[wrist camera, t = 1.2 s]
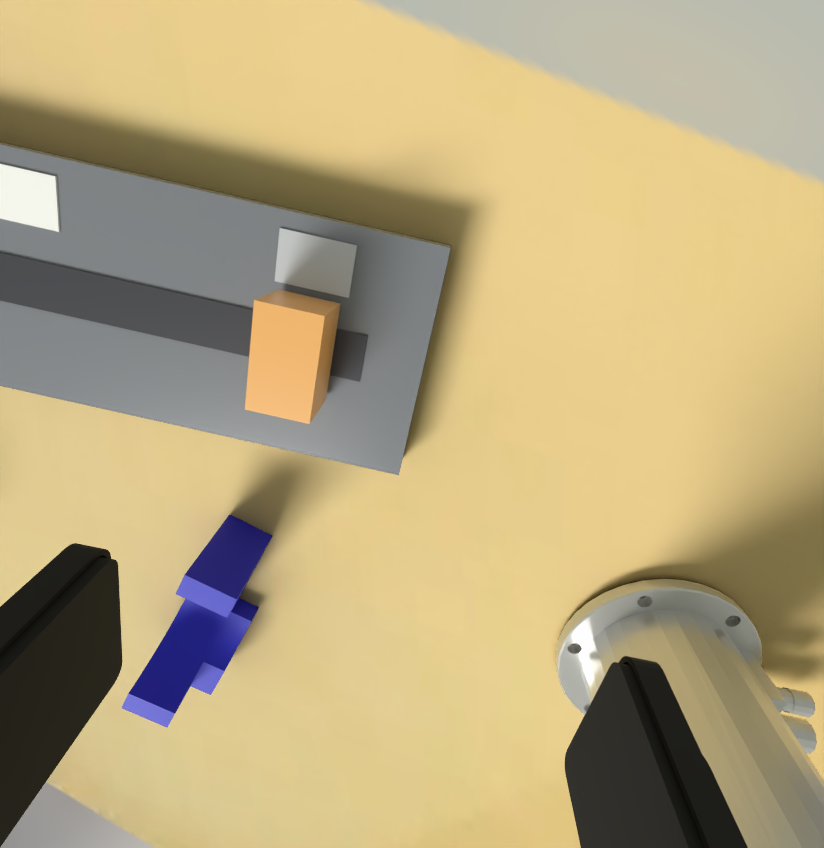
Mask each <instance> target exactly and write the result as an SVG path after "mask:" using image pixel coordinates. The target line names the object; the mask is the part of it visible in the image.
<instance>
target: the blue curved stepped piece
mask: <svg viewBox="0 0 824 848" xmlns="http://www.w3.org/2000/svg"><path fill="white" fill-rule="evenodd" d="M271 538H272V535H270V534H268V533H266V532H264V531H262V530H260V529H258V528H256V527H254V526H252V525H250V524H248V523H246V522H244V521H242V520H240V519H238V518H236V517H234V516H232V515H229V516H228V517H227V519H226V520H225V521H224V523H223V524H222V525H221V527H220V528H219V530H218V531H217V532H216V534H215V535H214V536H213V538H212V539H211V540H210V542H209V543H208V544H207V546H206V547H205V548H204V550H203V551H202V552H201V554H200V555H199V556H198V558H197V559H196V560H195V562H194V563H193V565H192V566H191V567H190V569H189V570H188V571H187V573H186V574H185V575H184V578H183V580H182V582H181V584H180V586H179V588H178V590H177V592H176V594H177V595H179V596H181V597H183V598H185V601H184V603H183V604H182V606H181V608H180V610H179V612H178V614H177V616H176V617H175V619H174V621H173V623H172V624H171V626H170V628H169V630H168V631H167V633H166V635H165V636H164V638H163V640H162V641H161V643H160V645H159V646H158V648H157V650H156V651H155V653H154V655H153V656H152V658H151V660H150V661H149V663H148V664H147V666H146V668H145V669H144V671H143V672H142V674H141V675H140V677H139V678H138V680H137V682H136V683H135V685H134V686H133V688H132V689H131V691H130V692H129V694H128V696H127V698H126V700H125V702H124V704H123V706H122V708H123V709H125V710H128V711H130V712H132V713H135V714H137V715H139V716H141V717H144V718H146V719H148V720H151V721H153V722H155V723H158V724H160V725H162V726H165V727H168V725H169V723H170V722H171V720H172V718H173V716H174V714H175V713H176V711H177V709H178V707H179V705H180V704H181V702H182V700H183V698H184V696H185V695H186V693H187V691H188V689H189V687H190V686H192V687H194V688H196V689H198V690H201V691H203V692H205V693H207V694H210V695H211V694H212V692H213V690H214V688H215V687H216V685H217V683H218V682H219V680H220V678H221V676H222V675H223V673H224V671H225V669H226V667H227V666H228V664H229V662H230V660H231V658H232V656H233V654H234V652H235V651H236V649H237V647H238V645H239V643H240V641H241V640H242V638H243V636H244V634H245V632H246V631H247V629H248V627H249V625H250V624H251V622H252V620H253V618H254V616H255V614H256V612H257V610H258V608H259V607H257V606H255V605H253V604H251V603H248V602H246V601H244V600H242V599H240V598H239V596H240V595H241V593H242V591H243V589H244V587H245V585H246V584H247V582H248V580H249V578H250V576H251V574H252V573H253V571H254V569H255V567H256V565H257V563H258V562H259V560H260V558H261V556H262V554H263V552H264V551H265V549H266V547H267V545H268V543H269V541H270V540H271Z"/></svg>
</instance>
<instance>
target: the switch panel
mask: <svg viewBox="0 0 824 848" xmlns="http://www.w3.org/2000/svg"><path fill="white" fill-rule="evenodd" d="M450 249H451V245H447V244H442V243H438V242H434V241H429V240H425V239H420V238H416V237H412V236H407V235H403V234H399V233H394V232H390V231H386V230H381V229H377V228H373V227H368V226H364V225H360V224H355V223H351V222H347V221H342V220H338V219H333V218H329V217H325V216H320V215H316V214H312V213H307V212H303V211H299V210H294V209H290V208H286V207H281V206H277V205H273V204H268V203H264V202H260V201H255V200H251V199H246V198H242V197H238V196H233V195H229V194H225V193H220V192H216V191H212V190H207V189H203V188H199V187H194V186H190V185H186V184H181V183H177V182H173V181H168V180H164V179H159V178H155V177H151V176H146V175H142V174H138V173H133V172H129V171H125V170H120V169H116V168H112V167H107V166H103V165H99V164H94V163H90V162H86V161H81V160H77V159H72V158H68V157H64V156H59V155H55V154H51V153H46V152H42V151H38V150H33V149H29V148H25V147H20V146H16V145H12V144H7V143H3V142H0V386H3V387H8V388H12V389H17V390H21V391H26V392H30V393H35V394H39V395H44V396H48V397H52V398H57V399H61V400H66V401H70V402H75V403H79V404H84V405H88V406H93V407H97V408H102V409H106V410H110V411H115V412H119V413H124V414H128V415H133V416H137V417H142V418H146V419H151V420H155V421H160V422H164V423H168V424H173V425H177V426H182V427H186V428H191V429H195V430H200V431H204V432H209V433H213V434H218V435H222V436H226V437H231V438H235V439H240V440H244V441H249V442H253V443H258V444H262V445H267V446H271V447H276V448H280V449H284V450H289V451H293V452H298V453H302V454H307V455H311V456H316V457H320V458H325V459H329V460H334V461H338V462H343V463H347V464H351V465H356V466H360V467H365V468H369V469H374V470H378V471H383V472H387V473H392V474H396V475H399V472H400V467H401V463H402V459H403V454H404V450H405V445H406V441H407V437H408V432H409V428H410V424H411V419H412V415H413V411H414V406H415V402H416V398H417V393H418V389H419V384H420V380H421V376H422V371H423V367H424V363H425V358H426V354H427V350H428V345H429V341H430V336H431V332H432V328H433V323H434V319H435V315H436V310H437V306H438V302H439V297H440V293H441V288H442V284H443V280H444V275H445V271H446V267H447V262H448V258H449V254H450ZM278 289H279V290H284V291H288V292H292V293H297V294H301V295H305V296H310V297H314V298H319V299H323V300H327V301H332V302H336V303H341V305H340V311H339V318H338V324H337V331H336V337H335V344H334V350H333V357H332V363H331V370H330V376H329V383H328V390H327V396H326V401H325V402H324V404H323V405H322V407H321V408H320V409H319V411H318V412H317V414H316V415H315V417H314V418H313V420H312V421H311V423H310V424H307V423H302V422H298V421H293V420H289V419H284V418H280V417H276V416H271V415H267V414H262V413H258V412H253V411H249V410H245V401H246V389H247V377H248V365H249V354H250V342H251V330H252V318H253V307H254V300H255V299H258V298H260V297H262V296H265V295H267V294H269V293H271V292H274V291H276V290H278Z"/></svg>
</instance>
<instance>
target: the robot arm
mask: <svg viewBox="0 0 824 848" xmlns="http://www.w3.org/2000/svg"><path fill="white" fill-rule="evenodd" d="M762 657H763V654H762V644H761V640H760V637H759V635H758V632H757V630H756V628H755V626H754V625H753V623H752V622H751V620H750V619H749V618H748V616H747V615H746V613H745V612H744V611H743V610H742V609H741V608H740V607H739V606H738V605H737V604H736V602H735V601H733V600H732V599H730V598H729V597H727V596H726V595H724V594H723V593H721V592H720V591H718V590H715V589H713V588H710V587H708V586H705V585H703V584H699V583H694V582H690V581H685V580H674V579H655V580H643V581H639V582H634V583H630V584H626V585H622V586H620V587H617V588H615V589H612V590H609V591H607V592H605V593H603V594H601V595H599V596H598V597H596V598H594V599H593V600H591V601H589V602H588V603H587V604H585V605H584V606H583V607H582V608H581V609H579V610H578V611H577V612H576V613H575V614H574V615H573V616H572V618H571V619H570V620H569V621H568V623H567V624H566V625H565V627H564V629H563V631H562V633H561V635H560V637H559V639H558V643H557V647H556V651H555V664H556V669H557V673H558V678H559V682H560V685H561V687H562V689H563V692H564V694H565V695H566V697H567V698H568V699H569V701H570V702H571V703H572V704H573V706H575V707H576V708H577V709H578V710H579V711H580V712H581V713H583V714H584V715H585V716H584V718H583V720H582V722H581V724H580V726H579V728H578V730H577V732H576V734H575V735H574V737H573V739H572V741H571V743H570V745H569V747H568V749H567V752H566V756H565V772H566V778H567V783H568V787H569V792H570V797H571V802H572V806H573V811H574V816H575V821H576V826H577V830H578V835H579V840H580V845H581V848H824V780H823V778H822V777H821V775H820V774H819V772H818V771H817V769H816V768H815V766H814V765H813V763H812V762H811V760H810V758H809V757H808V755H807V754H806V753H811V752H812V751H814V750H815V747H816V743H817V741H816V734H815V732H814V730H813V727H812V725H810V724H809V723H808V722H807V721H806V720H804V719H801V718H796V717H792V716H787V715H783V714H780V712H781V711H782V710H783V711H784V712H788V713H792V714H797V715H801V716H806V717H810V716H812V715H813V714H814V711H815V703H814V701H813V699H812V697H811V696H810V695H809V694H808V693H807V692H802V691H797V690H793V689H788V688H779V687H776V686H775V685H774V683H772V681H771V680H770V678H769V677H768V675H767V674H766V672H765V671H764V669H763V668H762V666H761V662H762ZM121 666H122V644H121V622H120V599H119V577H118V563H117V561H116V560H113V559H111V555H110V552H109V551H108V550H106V549H101V548H96V547H91V546H86V545H82V544H77V543H75V544H71V545H69V546H68V547H67V548H65V549H64V550H63V551H62V552H61V553H60V554H59V555H58V556H56V557H55V558H54V559H53V560H52V561H51V562H50V563H49V564H48V565H46V566H45V567H44V568H43V569H42V570H41V571H40V572H39V573H38V574H36V575H35V576H34V577H33V578H32V579H31V580H30V581H29V582H28V583H26V584H25V585H24V586H23V587H22V588H21V589H20V590H19V591H18V592H16V593H15V594H14V595H13V596H12V597H11V598H10V599H9V600H7V601H6V602H5V603H4V604H3V605H2V606H1V607H0V847H1V845H2V844H3V843H4V841H5V840H6V838H7V837H8V835H9V834H10V832H11V831H12V829H13V828H14V827H15V825H16V824H17V822H18V821H19V820H20V818H21V816H22V815H23V814H24V812H25V811H26V809H27V808H28V806H29V805H30V804H31V802H32V801H33V799H34V798H35V796H36V795H37V794H38V792H39V791H40V789H41V788H42V786H43V785H44V784H45V782H46V781H47V779H48V778H49V776H50V775H51V774H52V772H53V771H54V769H55V768H56V766H57V765H58V763H59V762H60V761H61V759H62V758H63V756H64V755H65V753H66V752H67V751H68V749H69V748H70V746H71V745H72V743H73V742H74V740H75V739H76V738H77V736H78V735H79V733H80V732H81V730H82V729H83V728H84V726H85V725H86V723H87V722H88V720H89V719H90V718H91V716H92V715H93V713H94V712H95V710H96V709H97V707H98V706H99V705H100V703H101V702H102V700H103V699H104V697H105V696H106V695H107V693H108V692H109V690H110V689H111V687H112V686H113V684H114V683H115V681H116V679H117V677H118V675H119V673H120V670H121Z"/></svg>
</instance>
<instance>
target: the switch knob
mask: <svg viewBox="0 0 824 848" xmlns="http://www.w3.org/2000/svg"><path fill="white" fill-rule="evenodd" d="M340 305H341V303H336V302H332V301H327V300H323V299H319V298H314V297H310V296H305V295H301V294H297V293H292V292H288V291H284V290H279V289H278V290H276V291H274V292H271V293H269V294H267V295H265V296H262V297H260V298H258V299H255V300H254V307H253V318H252V330H251V342H250V354H249V365H248V377H247V389H246V401H245V410H249V411H253V412H258V413H262V414H267V415H271V416H276V417H280V418H284V419H289V420H293V421H298V422H302V423H307V424H310V423H311V421H312V420H313V418H314V417H315V415H316V414H317V412H318V411H319V409H320V408H321V407H322V405H323V404H324V402H325V401H326V396H327V390H328V383H329V376H330V370H331V363H332V357H333V350H334V344H335V337H336V331H337V324H338V318H339V311H340Z"/></svg>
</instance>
